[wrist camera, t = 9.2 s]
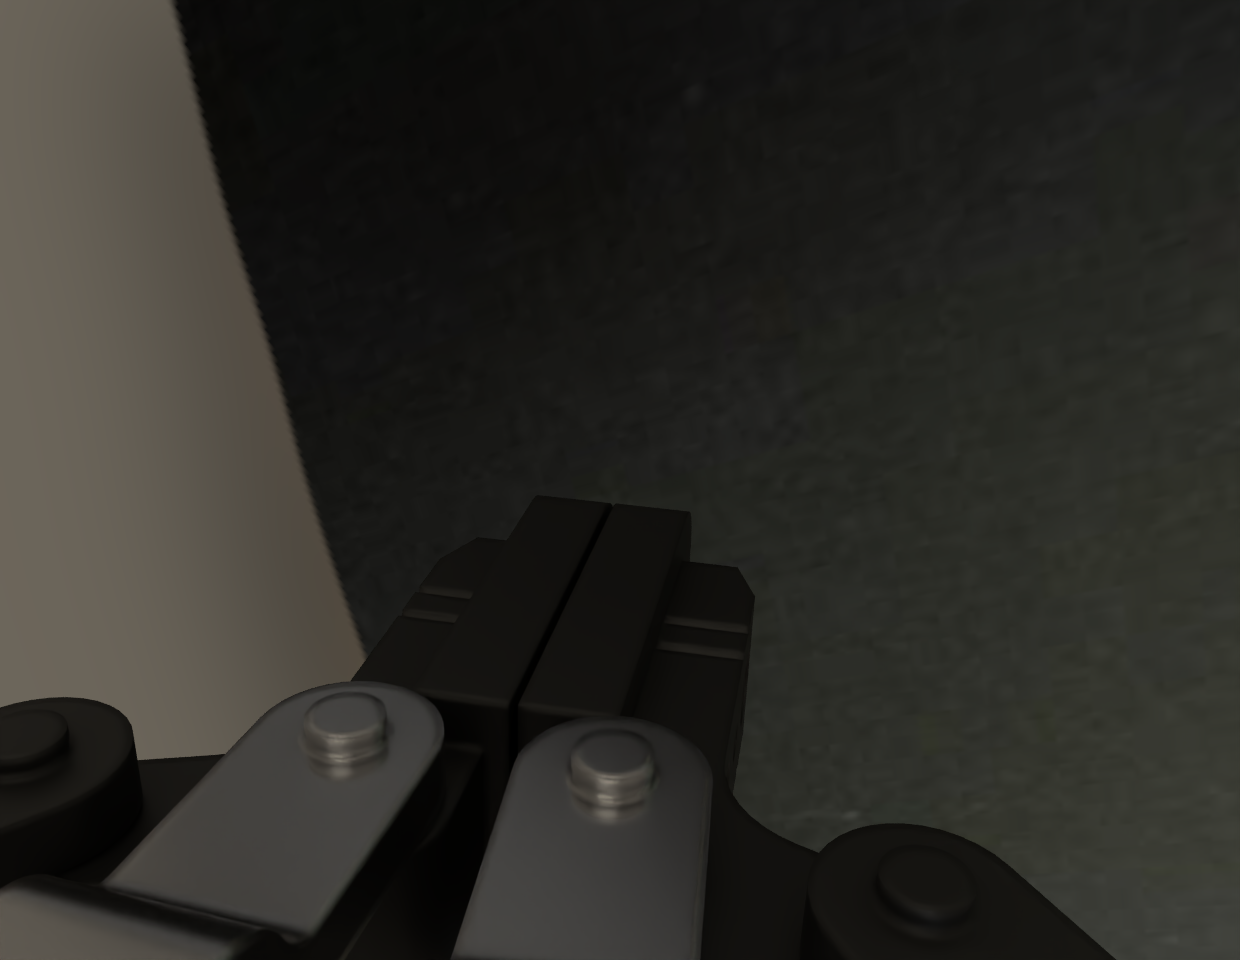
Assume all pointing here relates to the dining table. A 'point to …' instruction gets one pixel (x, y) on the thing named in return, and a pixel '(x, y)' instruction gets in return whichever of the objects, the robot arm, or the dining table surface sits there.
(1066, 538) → the dining table surface
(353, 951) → the robot arm
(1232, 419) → the dining table surface
